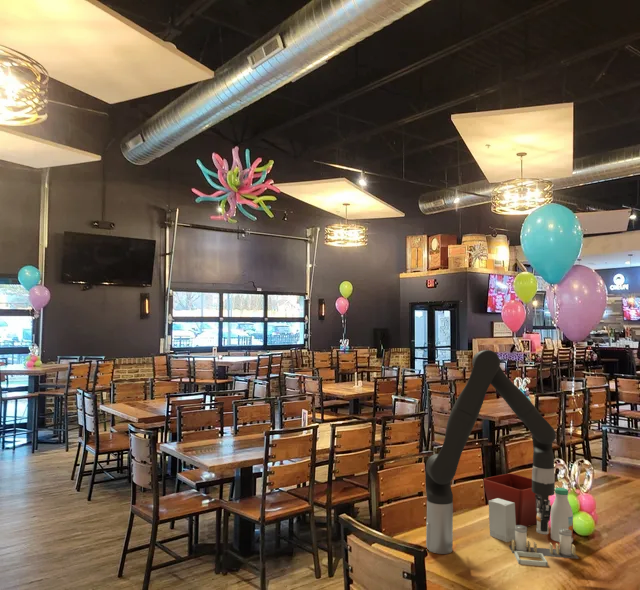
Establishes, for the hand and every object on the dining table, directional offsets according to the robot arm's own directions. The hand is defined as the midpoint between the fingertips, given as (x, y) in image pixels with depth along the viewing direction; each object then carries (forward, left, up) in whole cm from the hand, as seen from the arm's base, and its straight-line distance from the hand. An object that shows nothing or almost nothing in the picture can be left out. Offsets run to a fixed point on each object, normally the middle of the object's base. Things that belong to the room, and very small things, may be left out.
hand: (542, 528), depth 196 cm
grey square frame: (-6, -8, -10) cm, 14 cm away
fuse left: (-7, 0, -8) cm, 11 cm away
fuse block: (0, 0, -10) cm, 10 cm away
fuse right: (+8, 0, -8) cm, 11 cm away
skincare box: (-12, +12, -10) cm, 19 cm away
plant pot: (-3, +35, -10) cm, 36 cm away
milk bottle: (+10, +15, -10) cm, 20 cm away
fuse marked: (0, 0, -1) cm, 1 cm away
